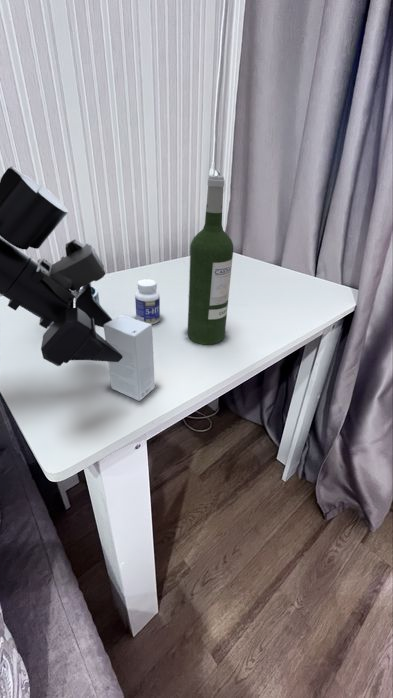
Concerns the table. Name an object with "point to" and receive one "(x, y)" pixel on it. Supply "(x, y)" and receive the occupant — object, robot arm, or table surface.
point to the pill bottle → (147, 302)
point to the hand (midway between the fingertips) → (117, 342)
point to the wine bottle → (210, 272)
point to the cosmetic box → (131, 356)
